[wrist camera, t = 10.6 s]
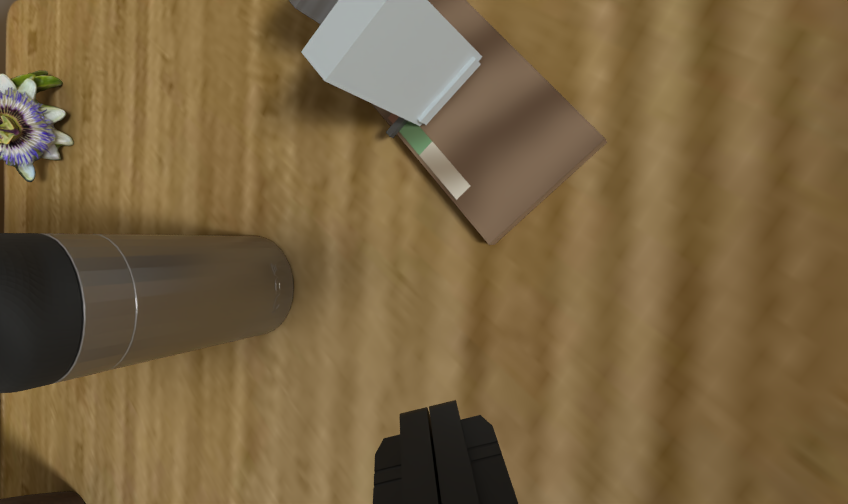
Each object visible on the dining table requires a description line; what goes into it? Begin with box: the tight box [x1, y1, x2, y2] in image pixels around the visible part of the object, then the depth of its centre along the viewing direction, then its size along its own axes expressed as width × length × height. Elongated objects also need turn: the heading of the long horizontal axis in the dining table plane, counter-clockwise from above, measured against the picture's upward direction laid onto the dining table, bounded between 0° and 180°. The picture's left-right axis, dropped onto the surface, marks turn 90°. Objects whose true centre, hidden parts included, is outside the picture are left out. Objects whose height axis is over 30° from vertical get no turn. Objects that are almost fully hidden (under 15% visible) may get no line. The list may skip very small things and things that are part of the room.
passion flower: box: [0, 71, 74, 182], centre depth 56 cm, size 11×11×12 cm
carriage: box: [301, 0, 482, 138], centre depth 30 cm, size 8×8×11 cm
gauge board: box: [289, 0, 607, 245], centre depth 32 cm, size 22×10×8 cm, turn 42°
